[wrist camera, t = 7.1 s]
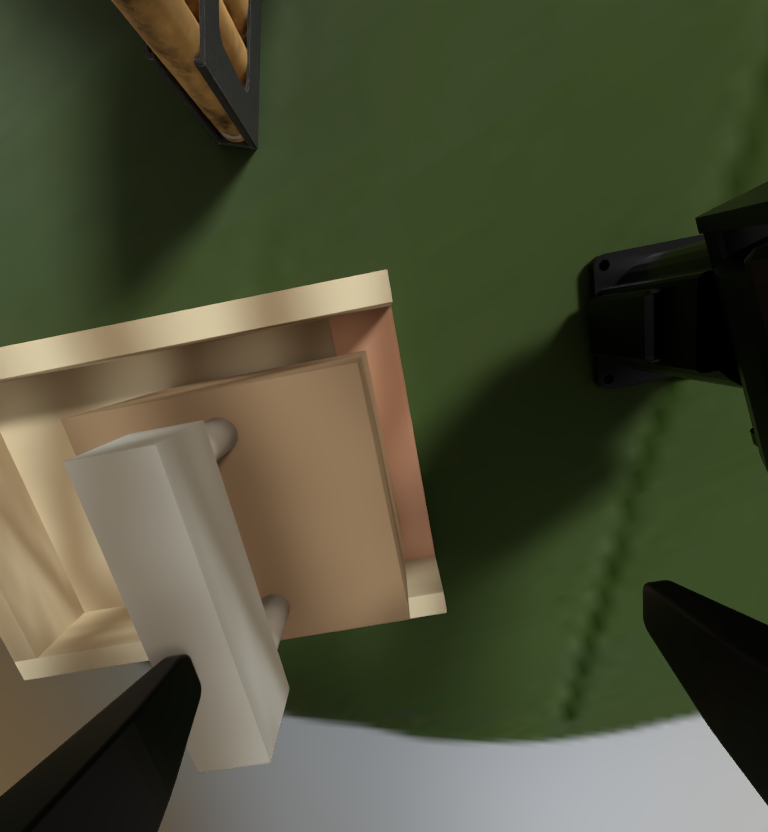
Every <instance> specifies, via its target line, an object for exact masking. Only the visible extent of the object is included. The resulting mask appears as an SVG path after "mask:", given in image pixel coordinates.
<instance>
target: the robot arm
mask: <svg viewBox="0 0 768 832" xmlns="http://www.w3.org/2000/svg"><path fill="white" fill-rule="evenodd" d="M695 219H696V223H697V227H698V231H699V234H702V233H703V235H698V236H693V237H688V238H683V239H678V240H673V241H668V242H663V243H658V244H652V245H647V246H642V247H637V248H632V249H627V250H622V251H617V252H612V253H607V254H603V255H600V256H597V257H595V258H594V259H593V260H592V261H591V263H590V265H589V279H590V301H589V303H588V318H589V339H590V352H591V353H592V354H593V363H594V381H595V384H596V385H597V386H598V387H601V388H604V389H611V388H616V387H622V386H627V385H633V384H638V383H644V382H649V381H654V380H660V379H665V378H671V377H680V378H686V379H692V380H698V381H703V382H709V383H715V384H721V385H727V386H733V387H739V388H743V391H744V394H745V398H746V402H747V406H748V410H749V414H750V418H751V422H752V426H753V428H752V429H751V430H750V432H751V436H752V440H753V443H754V444H755V445H756V446H757V447H758V449H759V453H760V456H761V459H762V461H763V463H764V465H765V467H766V470H767V472H768V182H766V183H764V184H762V185H760V186H758V187H756V188H754V189H752V190H750V191H748V192H746V193H744V194H742V195H740V196H738V197H736V198H734V199H732V200H730V201H728V202H726V203H724V204H722V205H720V206H718V207H716V208H714V209H712V210H710V211H708V212H706V213H704V214H702V215H700V216H698V217H696V218H695ZM601 261H602V262H603V263H604V264H605V268H604V270H603V271H601V270H600V268H599V263H600V262H601ZM606 375H608V376H609V380H608V381H607V382H605V383H604V377H605V376H606ZM643 620H644V624H645V626H646V629H647V631H648V633H649V634H650V636H651V637H652V639H653V641H654V642H655V644H656V645H657V647H658V648H659V650H660V652H661V653H662V655H663V656H664V658H665V659H666V661H667V662H668V664H669V666H670V667H671V669H672V670H673V672H674V673H675V675H676V677H677V678H678V680H679V681H680V683H681V684H682V686H683V688H684V689H685V691H686V692H687V694H688V695H689V697H690V699H691V700H692V702H693V703H694V705H695V706H696V708H697V710H698V711H699V713H700V714H701V716H702V717H703V719H704V720H705V722H706V723H707V725H708V726H709V727H710V729H711V730H712V732H713V733H714V734H715V735H716V737H717V738H718V740H719V741H720V743H721V744H722V745H723V747H724V748H725V749H726V751H727V752H728V753H729V755H730V756H731V757H732V758H733V760H734V761H735V762H736V764H737V765H738V767H739V768H740V769H741V771H742V772H743V773H744V774H745V776H746V777H747V779H748V780H749V781H750V783H751V784H752V785H753V786H754V788H755V789H756V791H757V792H758V793H759V795H760V796H761V797H762V799H763V800H764V801H765V802H766V804H767V805H768V625H767V624H764V623H762V622H760V621H758V620H756V619H753V618H751V617H749V616H747V615H745V614H742V613H740V612H738V611H736V610H733V609H731V608H729V607H727V606H725V605H722V604H720V603H718V602H716V601H714V600H711V599H709V598H707V597H705V596H703V595H700V594H698V593H696V592H694V591H692V590H689V589H687V588H685V587H683V586H681V585H678V584H676V583H674V582H671V581H668V580H661V581H655V582H648V583H646V584H645V585H644V587H643ZM200 698H201V682H200V680H199V677H198V675H197V672H196V670H195V667H194V665H193V662H192V660H191V657H190V656H189V655H187V654H178V655H172V656H168V657H165V658H164V659H162V660H161V661H160V662H159V663H158V664H156V665H155V666H154V667H153V668H152V669H151V670H149V671H148V672H147V673H146V674H145V675H143V676H142V677H141V678H140V679H139V680H138V681H136V682H135V683H134V684H133V685H132V686H131V687H129V688H128V689H127V690H126V691H125V692H123V693H122V694H121V695H120V696H119V697H118V698H116V699H115V700H114V701H113V702H112V703H110V704H109V705H108V706H107V707H106V708H104V709H103V710H102V711H101V712H100V713H99V714H97V715H96V716H95V717H94V718H93V719H91V720H90V721H89V722H88V723H87V724H86V725H84V726H83V727H82V728H81V729H80V730H78V731H77V732H76V733H75V734H74V735H72V736H71V737H70V738H69V739H68V740H67V741H65V742H64V743H63V744H62V745H61V746H59V747H58V748H57V749H56V750H55V751H54V752H52V753H51V754H50V755H49V756H48V757H46V758H45V759H44V760H43V761H42V762H41V763H40V764H38V765H37V766H36V767H35V768H33V769H32V770H31V771H30V772H29V773H28V774H26V775H25V776H24V777H23V778H22V779H20V780H19V781H18V782H17V783H16V784H15V785H13V786H12V787H11V788H10V789H9V790H8V791H6V792H5V793H4V794H3V795H2V796H0V832H158V829H159V827H160V824H161V822H162V819H163V816H164V813H165V810H166V808H167V805H168V802H169V800H170V797H171V794H172V791H173V788H174V784H175V781H176V778H177V775H178V772H179V768H180V765H181V762H182V758H183V755H184V752H185V748H186V745H187V742H188V738H189V735H190V732H191V728H192V725H193V722H194V718H195V715H196V712H197V708H198V705H199V702H200Z"/></svg>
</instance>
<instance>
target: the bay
mask: <svg viewBox="0 0 768 832" xmlns="http://www.w3.org/2000/svg"><path fill="white" fill-rule="evenodd" d="M392 302H393V301H392V295H391V289H390V284H389V278H388V272H387V270H382V271H377V272H372V273H367V274H362V275H357V276H352V277H347V278H342V279H337V280H332V281H327V282H322V283H317V284H312V285H307V286H302V287H297V288H292V289H287V290H282V291H278V292H273V293H268V294H263V295H258V296H253V297H248V298H243V299H238V300H233V301H228V302H223V303H218V304H213V305H208V306H203V307H198V308H193V309H188V310H183V311H178V312H173V313H169V314H164V315H159V316H154V317H149V318H144V319H139V320H134V321H129V322H124V323H119V324H114V325H109V326H104V327H99V328H94V329H89V330H84V331H79V332H74V333H69V334H64V335H60V336H55V337H50V338H45V339H40V340H35V341H30V342H25V343H20V344H15V345H10V346H5V347H0V637H1V638H2V640H3V642H4V644H5V646H6V648H7V649H8V651H9V653H10V655H11V657H12V658H13V660H14V662H15V664H16V666H17V668H18V669H19V671H20V673H21V675H22V677H23V679H24V680H30V679H36V678H43V677H49V676H55V675H61V674H67V673H74V672H80V671H86V670H92V669H98V668H105V667H110V666H117V665H124V664H130V663H136V662H142V661H149V659H148V657H147V654H146V652H145V650H144V648H143V645H142V643H141V641H140V638H139V636H138V634H137V631H136V629H135V627H134V624H133V622H132V620H131V617H130V615H129V613H128V611H127V608H126V606H125V604H124V601H123V599H122V597H121V594H120V592H119V590H118V587H117V585H116V583H115V581H114V578H113V576H112V574H111V571H110V569H109V567H108V564H107V562H106V560H105V557H104V555H103V553H102V551H101V548H100V546H99V544H98V541H97V539H96V537H95V534H94V532H93V530H92V527H91V525H90V523H89V521H88V518H87V516H86V514H85V511H84V509H83V507H82V504H81V502H80V500H79V497H78V495H77V493H76V490H75V488H74V486H73V484H72V481H71V479H70V477H69V474H68V472H67V470H66V467H65V465H64V463H63V462H64V461H67V460H69V459H71V458H74V457H76V455H75V453H74V450H73V448H72V445H71V443H70V441H69V438H68V436H67V434H66V431H65V429H64V426H63V424H62V422H61V419H64V418H67V417H70V416H74V415H77V414H81V413H84V412H88V411H91V410H95V409H98V408H102V407H105V406H109V405H112V404H116V403H119V402H123V401H126V400H130V399H133V398H137V397H140V396H144V395H147V394H150V393H154V392H157V391H161V390H164V389H168V388H174V387H179V386H184V385H189V384H194V383H200V382H205V381H210V380H215V379H220V378H225V377H231V376H236V375H241V374H246V373H251V372H257V371H262V370H267V369H272V368H277V367H282V366H288V365H293V364H298V363H303V362H308V361H314V360H319V359H324V358H329V357H334V356H340V355H345V354H350V353H355V352H360V351H365V350H366V354H367V359H368V364H369V369H370V374H371V379H372V384H373V389H374V394H375V399H376V404H377V409H378V414H379V419H380V424H381V429H382V434H383V439H384V444H385V449H386V454H387V459H388V464H389V469H390V474H391V479H392V485H393V490H394V495H395V500H396V505H397V510H398V515H399V520H400V525H401V530H402V537H403V548H404V559H405V569H406V580H407V590H408V601H409V611H410V618H417V617H423V616H429V615H435V614H442V613H447V609H446V603H445V598H444V592H443V588H442V583H441V579H440V575H439V570H438V566H437V562H436V557H435V552H434V546H433V541H432V535H431V529H430V524H429V518H428V512H427V507H426V501H425V495H424V490H423V484H422V478H421V473H420V467H419V461H418V456H417V450H416V444H415V439H414V433H413V427H412V422H411V416H410V411H409V405H408V399H407V394H406V388H405V382H404V377H403V371H402V365H401V360H400V354H399V348H398V343H397V337H396V331H395V326H394V320H393V314H392V309H391V304H392Z"/></svg>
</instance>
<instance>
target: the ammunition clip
mask: <svg viewBox="0 0 768 832" xmlns="http://www.w3.org/2000/svg"><path fill="white" fill-rule="evenodd" d="M111 1H112V2H113V3H114V4H115V6H116V7H117V8H118V9H119V10H120V12H121V13H122V14H123V15H124V17H125V18H126V19H127V20H128V21H129V23H130V24H131V25H132V26H133V28H134V29H135V30H136V31H137V32H138V34H139V35H140V36H141V37H142V38H143V40H144V46H145V56H146V58H147V59H148V61H149V62H150V63H151V64H152V65H153V67H154V68H155V69H156V70H157V71H158V73H159V74H160V75H161V76H162V78H163V79H164V80H165V81H166V82H167V84H168V85H169V86H170V87H171V89H172V90H173V91H174V92H175V93H176V95H177V96H178V97H179V98H180V99H181V101H182V102H183V103H184V104H185V106H186V107H187V108H188V109H189V110H190V112H191V113H192V114H193V115H194V117H195V118H196V119H197V120H198V121H199V123H200V124H201V125H202V126H203V127H204V129H205V130H206V131H207V132H208V134H209V135H210V136H211V137H212V138H213V140H214V141H215V142H216V143H217V144H218V145H223V146H231V147H238V148H246V149H254V150H255V149H257V148H258V117H259V76H260V34H261V0H111Z"/></svg>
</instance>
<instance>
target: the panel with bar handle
mask: <svg viewBox="0 0 768 832" xmlns="http://www.w3.org/2000/svg"><path fill="white" fill-rule="evenodd" d="M61 422H62V424H63V426H64V429H65V431H66V434H67V436H68V438H69V441H70V443H71V445H72V448H73V450H74V453H75V455H76V457H74V458H71V459H69V460H67V461H64V462H63V463H64V465H65V467H66V470H67V472H68V474H69V477H70V479H71V481H72V484H73V486H74V488H75V490H76V493H77V495H78V497H79V500H80V502H81V504H82V507H83V509H84V511H85V514H86V516H87V518H88V521H89V523H90V525H91V527H92V530H93V532H94V534H95V537H96V539H97V541H98V544H99V546H100V548H101V551H102V553H103V555H104V557H105V560H106V562H107V564H108V567H109V569H110V571H111V574H112V576H113V578H114V581H115V583H116V585H117V587H118V590H119V592H120V594H121V597H122V599H123V601H124V604H125V606H126V608H127V611H128V613H129V615H130V617H131V620H132V622H133V624H134V627H135V629H136V631H137V634H138V636H139V638H140V641H141V643H142V645H143V648H144V650H145V652H146V654H147V657H148V659H149V661H150V664H151V666H152V668H153V667H154V666H155V665H156V664H158V663H159V662H160V661H161V660H162V659H164V658H165V657H168V656H172V655H178V654H187V655H189V656H190V657H191V660H192V662H193V665H194V667H195V670H196V672H197V675H198V677H199V680H200V682H201V698H200V702H199V705H198V708H197V712H196V715H195V718H194V722H193V725H192V728H191V732H190V735H189V738H188V742H187V745H186V747H187V749H188V751H189V754H190V756H191V758H192V761H193V763H194V765H195V767H196V770H197V772H198V773H203V772H211V771H218V770H224V769H230V768H238V767H245V766H251V765H259V764H265V763H271V760H272V756H273V752H274V748H275V744H276V740H277V736H278V732H279V728H280V725H281V721H282V717H283V713H284V709H285V705H286V701H287V697H288V693H289V689H290V688H289V685H288V682H287V679H286V675H285V672H284V669H283V666H282V663H281V660H280V657H279V654H278V651H277V649H278V646H279V643H280V640H285V639H291V638H297V637H303V636H309V635H316V634H322V633H328V632H334V631H341V630H347V629H353V628H359V627H366V626H372V625H378V624H384V623H391V622H397V621H403V620H409V619H410V611H409V601H408V590H407V580H406V569H405V559H404V548H403V537H402V530H401V525H400V520H399V515H398V510H397V505H396V500H395V495H394V490H393V485H392V479H391V474H390V469H389V464H388V459H387V454H386V449H385V444H384V439H383V434H382V429H381V424H380V419H379V414H378V409H377V404H376V399H375V394H374V389H373V384H372V379H371V374H370V369H369V364H368V359H367V354H366V350H365V351H360V352H355V353H350V354H345V355H340V356H334V357H329V358H324V359H319V360H314V361H308V362H303V363H298V364H293V365H288V366H282V367H277V368H272V369H267V370H262V371H257V372H251V373H246V374H241V375H236V376H231V377H225V378H220V379H215V380H210V381H205V382H200V383H194V384H189V385H184V386H179V387H174V388H168V389H164V390H161V391H157V392H154V393H150V394H147V395H144V396H140V397H137V398H133V399H130V400H126V401H123V402H119V403H116V404H112V405H109V406H105V407H102V408H98V409H95V410H91V411H88V412H84V413H81V414H77V415H74V416H70V417H67V418H64V419H61Z"/></svg>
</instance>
